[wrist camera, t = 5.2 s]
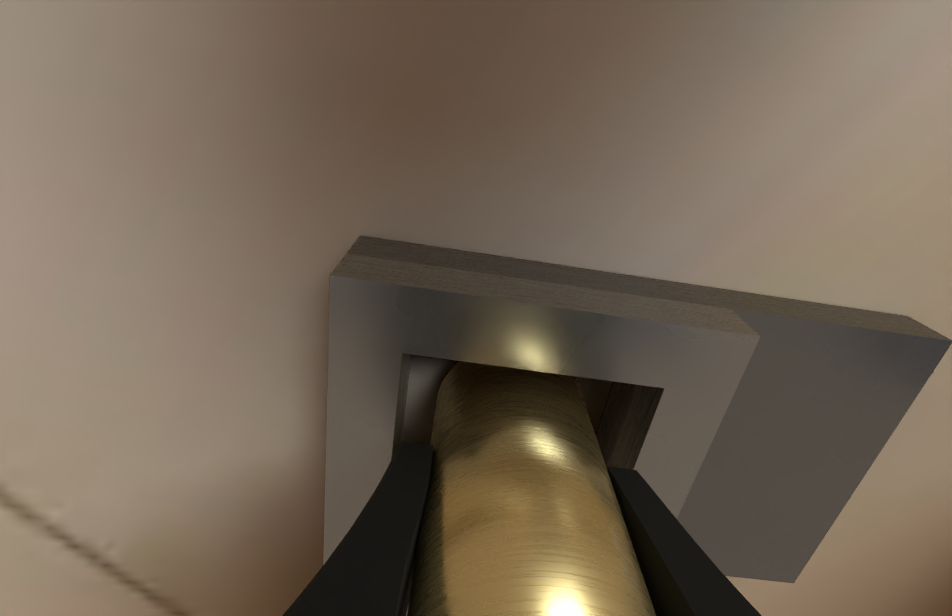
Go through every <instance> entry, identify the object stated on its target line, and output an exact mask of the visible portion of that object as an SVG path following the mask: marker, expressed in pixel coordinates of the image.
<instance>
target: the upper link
mask: <svg viewBox="0 0 952 616" xmlns="http://www.w3.org/2000/svg"><path fill="white" fill-rule="evenodd" d="M760 337H761V336H760V335H759V334H758V333H756V332H755V331H754V330H753V329H752V328H751V327H750V326H749V325H748V324H747V323H745V322H744V321H743V320H742V319H741V318H740V317H739V316H738V315H737V314H736V313H735V312H733V311H732V310H731V309H728V308H721V307H715V306H708V305H701V304H694V303H687V302H680V301H673V300H666V299H659V298H652V297H646V296H639V295H632V294H625V293H618V292H611V291H604V290H597V289H590V288H583V287H576V286H570V285H563V284H556V283H549V282H542V281H535V280H528V279H521V278H514V277H507V276H500V275H494V274H487V273H480V272H473V271H466V270H459V269H452V268H445V267H438V266H431V265H424V264H418V263H411V262H404V261H397V260H390V259H383V258H376V257H369V256H362V255H355V254H348V253H347V254H346V255H345V256H344V258H343V259H342V260H341V261H340V263H339V264H338V265H337V267H336V268H335V269H334V271H333V272H332V273H331V274H330V292H329V335H328V378H327V421H326V464H325V506H324V549H323V565H324V564H325V563H326V561H327V560H328V558H329V557H330V556H331V554H332V553H333V552H334V550H335V549H336V548H337V546H338V545H339V543H340V542H341V541H342V539H343V538H344V537H345V535H346V534H347V533H348V531H349V530H350V528H351V527H352V525H353V524H354V522H355V521H356V519H357V518H358V516H359V515H360V513H361V511H362V510H363V508H364V507H365V505H366V504H367V502H368V501H369V499H370V497H371V496H372V494H373V493H374V491H375V489H376V488H377V486H378V484H379V482H380V481H381V479H382V477H383V475H384V473H385V472H386V470H387V468H388V466H389V464H390V462H391V460H392V457H393V455H394V453H395V450H396V448H397V445H398V436H399V426H400V417H401V407H402V398H403V388H404V379H405V369H406V360H407V354H412V355H420V356H427V357H435V358H442V359H450V360H457V361H464V362H472V363H479V364H487V365H494V366H502V367H509V368H517V369H524V370H532V371H539V372H547V373H554V374H562V375H569V376H577V377H584V378H591V379H599V380H606V381H614V382H621V383H629V384H636V386H635V389H634V391H633V394H632V397H631V400H630V403H629V406H628V409H627V411H626V414H625V417H624V420H623V423H622V426H621V428H620V431H619V434H618V437H617V440H616V443H615V446H614V448H613V451H612V454H611V457H610V460H609V463H608V465H607V467H615V468H623V469H631V470H637V471H638V473H639V474H640V475H641V476H642V477H643V478H644V480H645V481H646V482H647V483H648V484H649V486H650V487H651V488H652V489H653V491H654V492H655V493H656V494H657V495H658V497H659V498H660V499H661V500H662V502H663V503H664V504H665V505H666V507H667V508H668V509H669V510H670V511H671V513H672V514H673V515H674V516H675V518H676V519H677V517H678V515H679V513H680V510H681V508H682V506H683V504H684V502H685V500H686V497H687V495H688V493H689V491H690V489H691V486H692V484H693V482H694V480H695V478H696V476H697V473H698V471H699V469H700V467H701V465H702V463H703V460H704V458H705V456H706V454H707V452H708V450H709V447H710V445H711V443H712V441H713V439H714V437H715V434H716V432H717V430H718V428H719V426H720V423H721V421H722V419H723V417H724V415H725V413H726V410H727V408H728V406H729V404H730V402H731V400H732V397H733V395H734V393H735V391H736V389H737V387H738V384H739V382H740V380H741V378H742V376H743V374H744V371H745V369H746V367H747V365H748V363H749V360H750V358H751V356H752V354H753V352H754V350H755V347H756V345H757V343H758V341H759V339H760ZM407 613H408V609H407ZM406 616H407V614H406Z"/></svg>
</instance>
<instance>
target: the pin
mask: <svg viewBox="0 0 952 616" xmlns="http://www.w3.org/2000/svg"><path fill="white" fill-rule="evenodd" d="M430 445H434V447H433V456H432V464H431V472H430V479H429V486H428V492H427V496H426V501H425V506H424V510H423V515H422V519H421V524H420V529H419V535H418V540H417V547H416V554H415V561H414V569H413V576H412V583H411V591H410V598H409V605H408V613H407V616H656V614H655V611H654V608H653V605H652V602H651V599H650V596H649V593H648V590H647V587H646V584H645V581H644V578H643V575H642V572H641V569H640V566H639V563H638V560H637V557H636V554H635V551H634V548H633V545H632V542H631V539H630V536H629V533H628V530H627V528H626V525H625V522H624V519H623V516H622V513H621V510H620V507H619V504H618V501H617V498H616V495H615V492H614V489H613V486H612V483H611V480H610V477H609V474H608V471H607V468H606V465H605V462H604V459H603V456H602V453H601V450H600V447H599V444H598V441H597V438H596V435H595V432H594V429H593V427H592V424H591V421H590V418H589V415H588V412H587V409H586V406H585V403H584V400H583V397H582V394H581V391H580V388H579V385H578V383H577V381H576V379H575V377H574V376H569V375H562V374H554V373H547V372H539V371H532V370H524V369H517V368H509V367H502V366H494V365H487V364H479V363H472V362H464V361H460V362H458V363H457V364H456V365H455V366H454V367H453V368H452V369H451V370H450V371H449V373H448V374H447V375H446V377H445V378H444V380H443V382H442V384H441V386H440V389H439V391H438V396H437V401H436V408H435V415H434V423H433V430H432V437H431V444H430Z"/></svg>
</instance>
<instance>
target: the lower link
mask: <svg viewBox="0 0 952 616" xmlns="http://www.w3.org/2000/svg"><path fill="white" fill-rule="evenodd" d="M347 253H348V254H355V255H362V256H369V257H376V258H383V259H390V260H397V261H404V262H411V263H418V264H424V265H431V266H438V267H445V268H452V269H459V270H466V271H473V272H480V273H487V274H494V275H500V276H507V277H514V278H521V279H528V280H535V281H542V282H549V283H556V284H563V285H570V286H576V287H583V288H590V289H597V290H604V291H611V292H618V293H625V294H632V295H639V296H646V297H652V298H659V299H666V300H673V301H680V302H687V303H694V304H701V305H708V306H715V307H721V308H728V309H731V310H732V311H733V312H735V313H736V314H737V315H738V316H739V317H740V318H741V319H742V320H743V321H744V322H745V323H747V324H748V325H749V326H750V327H751V328H752V329H753V330H754V331H755V332H756V333H758V334H759V335H760V336H761V337H760V339H759V341H758V343H757V345H756V347H755V350H754V352H753V354H752V356H751V358H750V360H749V363H748V365H747V367H746V369H745V371H744V374H743V376H742V378H741V380H740V382H739V384H738V387H737V389H736V391H735V393H734V395H733V397H732V400H731V402H730V404H729V406H728V408H727V410H726V413H725V415H724V417H723V419H722V421H721V423H720V426H719V428H718V430H717V432H716V434H715V437H714V439H713V441H712V443H711V445H710V447H709V450H708V452H707V454H706V456H705V458H704V460H703V463H702V465H701V467H700V469H699V471H698V473H697V476H696V478H695V480H694V482H693V484H692V486H691V489H690V491H689V493H688V495H687V497H686V500H685V502H684V504H683V506H682V508H681V510H680V513H679V515H678V517H677V520H678V521H679V522H680V524H681V525H682V526H683V527H684V529H685V530H686V531H687V532H688V533H689V535H690V536H691V537H692V538H693V539H694V541H695V542H696V543H697V544H698V545H699V547H700V548H701V549H702V550H703V551H704V552H705V554H706V555H707V556H708V557H709V558H710V559H711V561H712V562H713V563H714V564H715V565H716V566H717V567H718V569H719V570H720V571H721V572H722V573H723V574H724V575H725V576H733V577H742V578H751V579H760V580H769V581H778V582H787V583H794V582H795V580H796V579H797V577H798V576H799V574H800V573H801V571H802V570H803V568H804V567H805V565H806V564H807V562H808V561H809V559H810V558H811V556H812V555H813V553H814V552H815V550H816V549H817V547H818V546H819V544H820V542H821V541H822V539H823V538H824V536H825V535H826V533H827V532H828V530H829V529H830V527H831V526H832V524H833V523H834V521H835V520H836V518H837V517H838V515H839V514H840V512H841V511H842V509H843V508H844V506H845V504H846V503H847V501H848V500H849V498H850V497H851V495H852V494H853V492H854V491H855V489H856V488H857V486H858V485H859V483H860V482H861V480H862V479H863V477H864V476H865V474H866V473H867V471H868V470H869V468H870V467H871V465H872V463H873V462H874V460H875V459H876V457H877V456H878V454H879V453H880V451H881V450H882V448H883V447H884V445H885V444H886V442H887V441H888V439H889V438H890V436H891V435H892V433H893V432H894V430H895V429H896V427H897V425H898V424H899V422H900V421H901V419H902V418H903V416H904V415H905V413H906V412H907V410H908V409H909V407H910V406H911V404H912V403H913V401H914V400H915V398H916V397H917V395H918V394H919V392H920V391H921V389H922V387H923V386H924V384H925V383H926V381H927V380H928V378H929V377H930V375H931V374H932V372H933V371H934V369H935V368H936V366H937V365H938V363H939V362H940V360H941V359H942V357H943V356H944V354H945V353H946V351H947V349H948V348H949V346H950V345H951V343H952V340H950V339H948V338H947V337H945V336H943V335H941V334H939V333H938V332H936V331H934V330H932V329H930V328H929V327H927V326H925V325H923V324H921V323H919V322H918V321H916V320H914V319H912V318H910V317H909V316H902V315H896V314H889V313H882V312H875V311H868V310H862V309H855V308H848V307H841V306H834V305H828V304H821V303H814V302H807V301H800V300H794V299H787V298H780V297H773V296H766V295H760V294H753V293H746V292H739V291H732V290H726V289H719V288H712V287H705V286H698V285H692V284H685V283H678V282H671V281H664V280H658V279H651V278H644V277H637V276H630V275H624V274H617V273H610V272H603V271H596V270H590V269H583V268H576V267H569V266H562V265H556V264H549V263H542V262H535V261H528V260H522V259H515V258H508V257H501V256H494V255H488V254H481V253H474V252H467V251H460V250H454V249H447V248H440V247H433V246H426V245H420V244H413V243H406V242H399V241H392V240H386V239H379V238H372V237H365V236H360V237H359V238H358V239H357V241H356V242H355V243H354V245H353V246H352V247H351V249H350V250H349V251H348V252H347ZM410 360H411V354H407V360H406V369H405V379H404V388H403V398H402V407H401V417H400V426H399V436H398V444H400V443H401V442H402V433H403V424H404V415H405V405H406V396H407V387H408V378H409V369H410ZM635 386H636V384H629V383H621V382H614V383H613V386H612V389H611V392H610V395H609V398H608V401H607V404H606V407H605V410H604V413H603V416H602V419H601V422H600V425H599V428H598V432H597V435H596V438H597V441H598V444H599V447H600V450H601V453H602V456H603V459H604V462H605V465H606V468H607V465H608V463H609V460H610V457H611V454H612V451H613V448H614V446H615V443H616V440H617V437H618V434H619V431H620V428H621V426H622V423H623V420H624V417H625V414H626V411H627V409H628V406H629V403H630V400H631V397H632V394H633V391H634V389H635Z"/></svg>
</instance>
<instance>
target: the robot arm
mask: <svg viewBox="0 0 952 616" xmlns="http://www.w3.org/2000/svg"><path fill="white" fill-rule="evenodd" d="M433 447H434V445H429V444H421V443H413V442H405V441H403V442H402V443H400V444H398V445H397V448H396V450H395V453H394V455H393V457H392V460H391V462H390V464H389V466H388V468H387V470H386V472H385V473H384V475H383V477H382V479H381V481H380V482H379V484H378V486H377V488H376V489H375V491H374V493H373V494H372V496H371V497H370V499H369V501H368V502H367V504H366V505H365V507H364V508H363V510H362V511H361V513H360V515H359V516H358V518H357V519H356V521H355V522H354V524H353V525H352V527H351V528H350V530H349V531H348V533H347V534H346V535H345V537H344V538H343V539H342V541H341V542H340V543H339V545H338V546H337V548H336V549H335V550H334V552H333V553H332V554H331V556H330V557H329V558H328V560H327V561H326V563H325V564H324V565H323V567H322V568H321V569H320V571H319V572H318V573H317V574H316V576H315V577H314V578H313V579H312V581H311V582H310V583H309V584H308V586H307V587H306V588H305V589H304V591H303V592H302V593H301V594H300V596H299V597H298V598H297V599H296V600H295V602H294V603H293V604H292V605H291V606H290V607H289V609H288V610H287V611H286V612H285V613H284V615H283V616H406V614H407V609H408V605H409V598H410V591H411V583H412V576H413V569H414V561H415V554H416V547H417V540H418V535H419V529H420V524H421V519H422V515H423V510H424V506H425V501H426V496H427V492H428V486H429V479H430V472H431V464H432V456H433ZM607 471H608V474H609V477H610V480H611V483H612V486H613V489H614V492H615V495H616V498H617V501H618V504H619V507H620V510H621V513H622V516H623V519H624V522H625V525H626V528H627V530H628V533H629V536H630V539H631V542H632V545H633V548H634V551H635V554H636V557H637V560H638V563H639V566H640V569H641V572H642V575H643V578H644V581H645V584H646V587H647V590H648V593H649V596H650V599H651V602H652V605H653V608H654V611H655V614H656V616H761V615H760V614H759V613H758V611H757V610H756V609H755V608H754V607H753V606H752V605H751V604H750V603H749V602H748V601H747V600H746V599H745V598H744V596H743V595H742V594H741V593H740V592H739V591H738V590H737V589H736V588H735V587H734V586H733V584H732V583H731V582H730V581H729V580H728V579H727V578H726V577H725V575H724V574H723V573H722V572H721V571H720V570H719V569H718V567H717V566H716V565H715V564H714V563H713V562H712V561H711V559H710V558H709V557H708V556H707V555H706V554H705V552H704V551H703V550H702V549H701V548H700V547H699V545H698V544H697V543H696V542H695V541H694V539H693V538H692V537H691V536H690V535H689V533H688V532H687V531H686V530H685V529H684V527H683V526H682V525H681V524H680V522H679V521H678V520H677V519H676V518H675V516H674V515H673V514H672V513H671V511H670V510H669V509H668V508H667V507H666V505H665V504H664V503H663V502H662V500H661V499H660V498H659V497H658V495H657V494H656V493H655V492H654V491H653V489H652V488H651V487H650V486H649V484H648V483H647V482H646V481H645V480H644V478H643V477H642V476H641V475H640V474H639V473H638V471H637V470H631V469H623V468H615V467H607Z"/></svg>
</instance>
